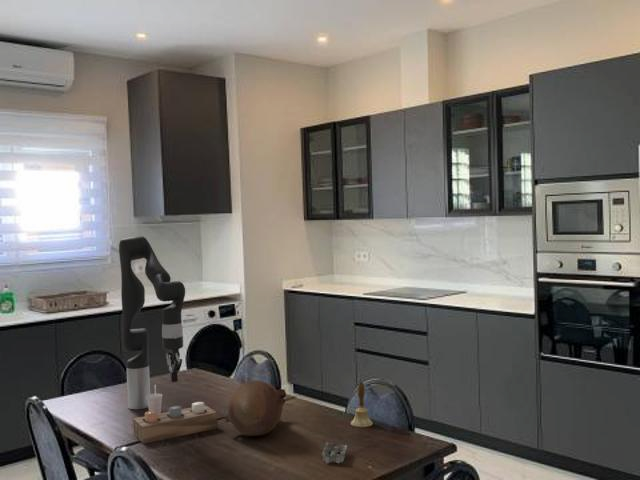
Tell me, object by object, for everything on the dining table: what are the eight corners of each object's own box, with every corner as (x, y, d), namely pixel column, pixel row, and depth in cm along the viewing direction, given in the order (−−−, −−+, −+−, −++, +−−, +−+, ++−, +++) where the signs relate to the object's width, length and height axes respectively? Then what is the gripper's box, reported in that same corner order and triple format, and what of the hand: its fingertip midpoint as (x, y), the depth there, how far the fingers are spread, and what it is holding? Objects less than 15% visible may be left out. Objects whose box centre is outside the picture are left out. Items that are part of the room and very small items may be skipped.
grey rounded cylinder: (167, 423, 238) (167, 407, 238) (179, 421, 241) (179, 405, 240) (171, 426, 234) (171, 410, 234) (183, 424, 237) (183, 408, 236)
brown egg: (143, 428, 233) (143, 412, 233) (156, 425, 236) (155, 409, 236) (147, 431, 229) (146, 415, 229) (160, 429, 232) (159, 412, 232)
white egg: (190, 418, 243) (190, 403, 243) (202, 416, 245) (201, 401, 245) (195, 422, 239) (194, 406, 239) (206, 419, 241) (206, 403, 241)
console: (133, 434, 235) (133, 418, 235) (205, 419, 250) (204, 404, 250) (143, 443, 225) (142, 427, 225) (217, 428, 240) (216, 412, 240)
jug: (261, 447, 218) (295, 434, 245) (274, 390, 219) (306, 384, 246) (211, 430, 225) (249, 419, 253) (224, 375, 226) (260, 370, 254)
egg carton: (326, 452, 212) (326, 440, 212) (348, 453, 211) (348, 441, 210) (320, 464, 202) (320, 451, 202) (343, 465, 200) (342, 452, 200)
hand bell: (375, 421, 241) (374, 379, 241) (368, 428, 234) (366, 385, 233) (355, 419, 245) (354, 378, 244) (347, 426, 237) (345, 383, 237)
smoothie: (159, 422, 249) (157, 386, 248) (143, 421, 250) (142, 386, 250) (166, 417, 255) (164, 382, 255) (151, 416, 256) (150, 382, 256)
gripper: (157, 334, 240) (158, 379, 241) (168, 339, 229) (170, 387, 229) (176, 331, 244) (178, 376, 245) (188, 336, 233) (190, 383, 233)
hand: (174, 381), depth 237 cm, fingers closed
